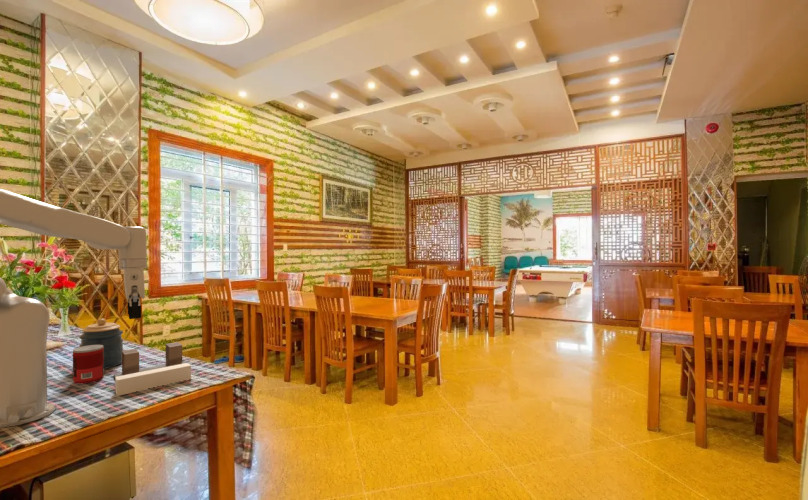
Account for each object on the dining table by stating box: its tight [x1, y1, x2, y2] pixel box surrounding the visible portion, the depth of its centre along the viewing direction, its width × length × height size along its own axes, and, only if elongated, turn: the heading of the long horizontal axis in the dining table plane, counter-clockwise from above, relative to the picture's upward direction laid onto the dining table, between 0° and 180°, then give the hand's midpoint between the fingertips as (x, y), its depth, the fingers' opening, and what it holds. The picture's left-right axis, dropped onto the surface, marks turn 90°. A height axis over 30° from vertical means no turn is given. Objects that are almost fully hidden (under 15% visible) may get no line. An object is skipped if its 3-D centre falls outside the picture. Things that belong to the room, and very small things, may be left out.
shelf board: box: [114, 362, 192, 397], centre depth 121 cm, size 4×20×5 cm, turn 134°
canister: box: [78, 318, 124, 369], centre depth 141 cm, size 13×13×18 cm
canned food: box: [72, 345, 105, 385], centre depth 126 cm, size 8×8×11 cm
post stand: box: [113, 341, 186, 379], centre depth 132 cm, size 10×21×9 cm, turn 134°
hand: (134, 316), depth 123 cm, fingers open, 9 cm apart
